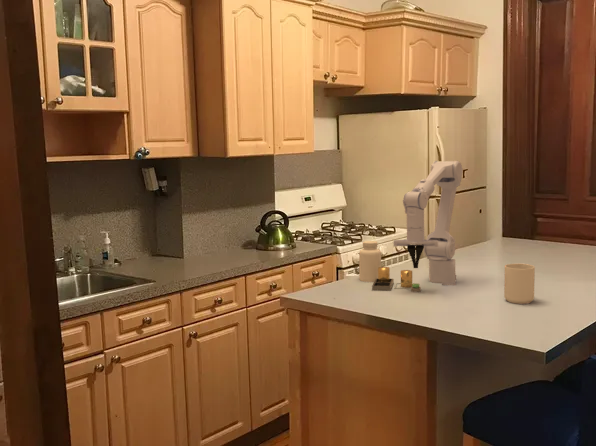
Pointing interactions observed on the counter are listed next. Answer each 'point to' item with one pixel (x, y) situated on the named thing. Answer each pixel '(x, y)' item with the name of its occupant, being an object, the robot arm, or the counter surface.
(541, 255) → the counter surface
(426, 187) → the robot arm
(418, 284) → the button
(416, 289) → the button housing
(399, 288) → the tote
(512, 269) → the mug
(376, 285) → the crate
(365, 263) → the pill bottle
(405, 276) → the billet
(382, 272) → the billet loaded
